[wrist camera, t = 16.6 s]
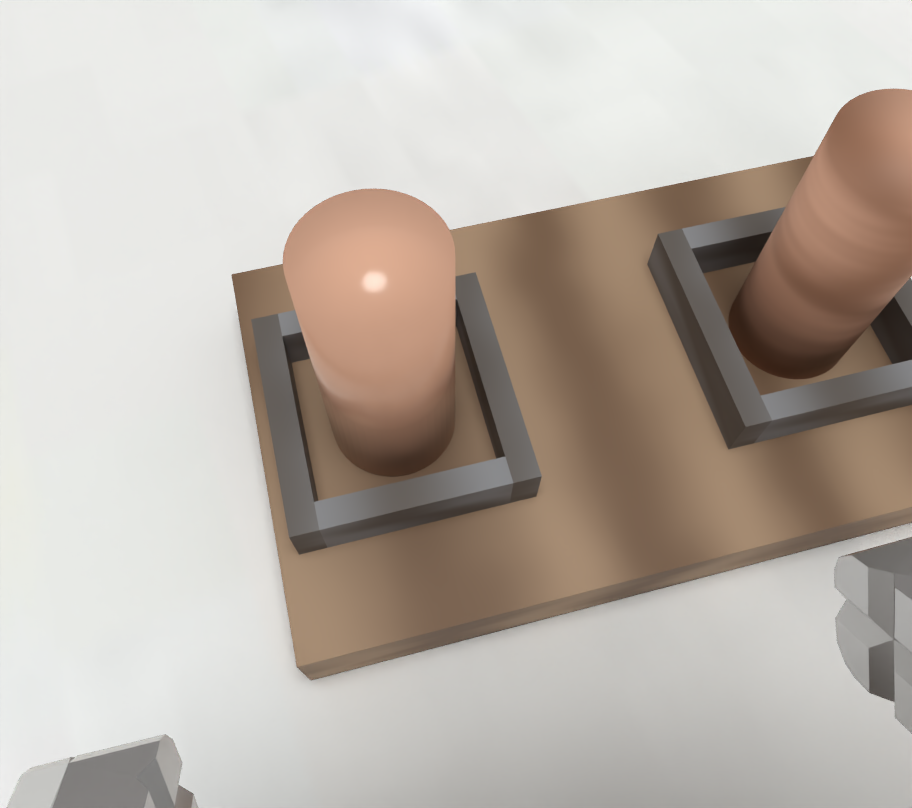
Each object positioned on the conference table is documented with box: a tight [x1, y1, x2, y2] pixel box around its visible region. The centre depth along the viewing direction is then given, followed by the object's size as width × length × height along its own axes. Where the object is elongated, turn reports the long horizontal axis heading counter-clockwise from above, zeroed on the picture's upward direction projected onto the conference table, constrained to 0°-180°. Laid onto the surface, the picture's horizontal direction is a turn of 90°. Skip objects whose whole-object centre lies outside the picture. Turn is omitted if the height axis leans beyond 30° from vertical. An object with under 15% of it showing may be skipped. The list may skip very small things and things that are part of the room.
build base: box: [232, 89, 912, 680], centre depth 29 cm, size 26×16×13 cm, turn 104°
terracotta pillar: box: [283, 189, 455, 476], centre depth 27 cm, size 5×5×10 cm
